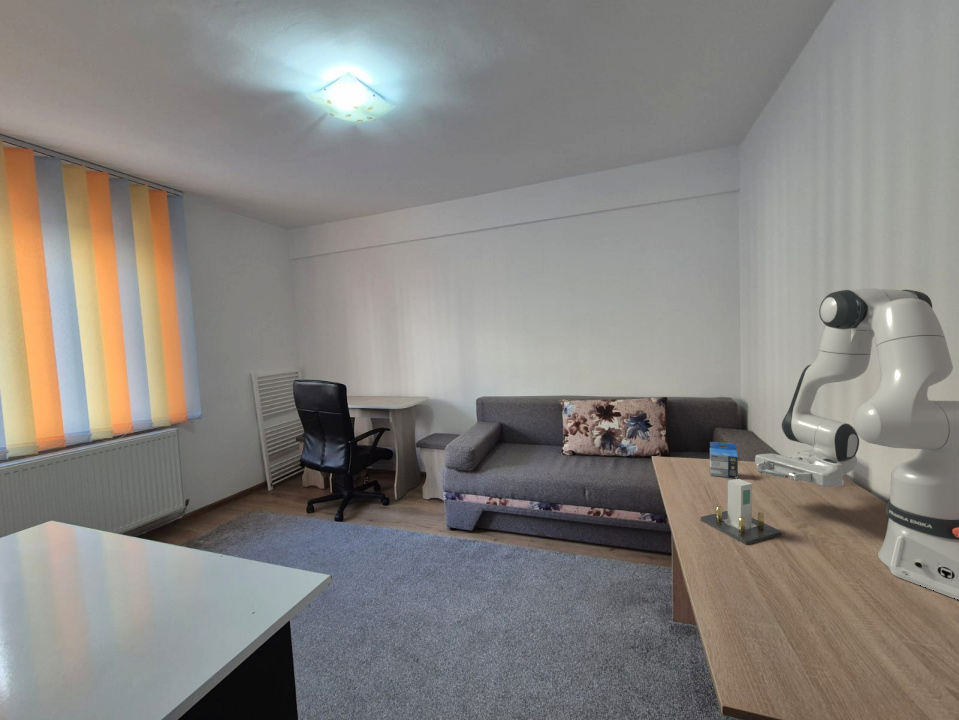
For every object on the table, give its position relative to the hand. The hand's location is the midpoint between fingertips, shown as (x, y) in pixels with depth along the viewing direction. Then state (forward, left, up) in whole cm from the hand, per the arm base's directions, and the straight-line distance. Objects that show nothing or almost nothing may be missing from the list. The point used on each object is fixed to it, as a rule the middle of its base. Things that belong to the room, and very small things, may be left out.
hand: (775, 471), depth 112 cm
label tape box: (+30, -15, -14) cm, 37 cm away
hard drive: (+27, -37, -15) cm, 48 cm away
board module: (0, +14, -13) cm, 19 cm away
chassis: (0, +14, -14) cm, 20 cm away
